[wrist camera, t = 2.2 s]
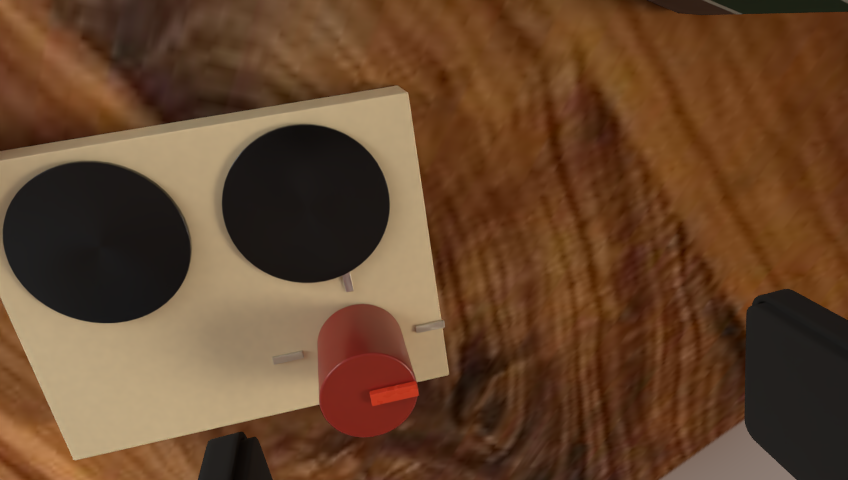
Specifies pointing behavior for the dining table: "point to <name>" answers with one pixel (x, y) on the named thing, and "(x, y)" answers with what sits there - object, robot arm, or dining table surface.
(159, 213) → the burners
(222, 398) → the hob
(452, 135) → the dining table surface
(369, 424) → the hob knob
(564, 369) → the dining table surface
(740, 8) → the beer bottle
